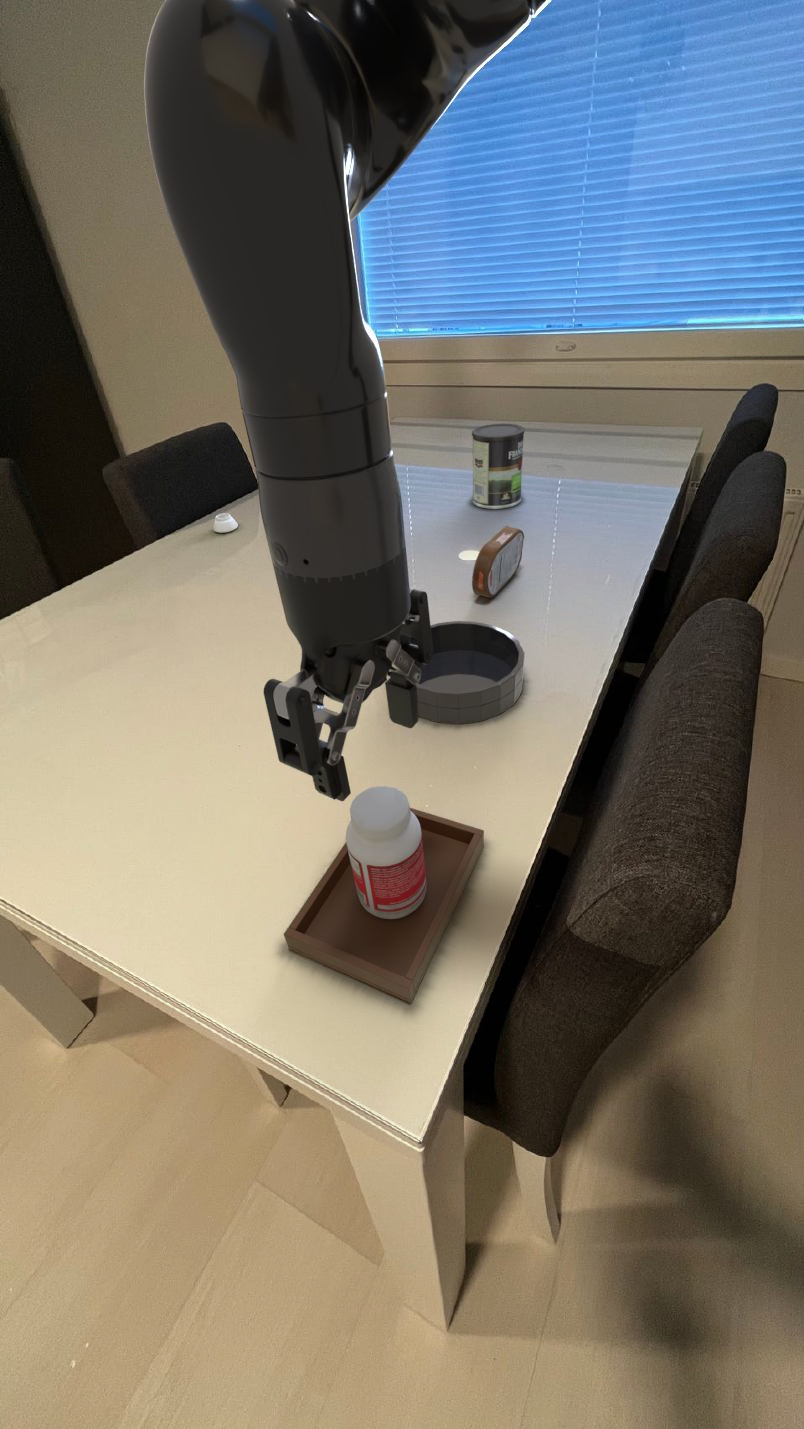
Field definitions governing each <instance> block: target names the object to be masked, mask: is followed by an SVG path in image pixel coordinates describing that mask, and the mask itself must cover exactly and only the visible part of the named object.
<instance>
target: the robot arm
mask: <svg viewBox="0 0 804 1429" xmlns="http://www.w3.org/2000/svg"><path fill="white" fill-rule="evenodd" d="M551 1H552V0H164V1H163V2H162V5H161V6H160V8H159V9H158V12H157V14H156V16H155V19H154V21H153V24H152V27H151V29H150V34H149V37H148V41H147V47H146V53H145V62H144V73H143V74H144V75H143V96H144V110H145V122H146V129H147V130H146V131H147V137H148V143H149V144H148V145H149V149H150V154H151V159H152V164H153V168H154V172H155V175H156V180H157V183H158V187H159V191H160V195H161V198H162V201H163V204H164V208H165V211H166V214H167V216H168V218H169V221H170V224H171V227H172V229H173V232H174V236H175V237H176V240H177V243H178V245H179V248H180V250H181V253H182V255H183V258H184V260H185V263H186V265H187V268H188V270H189V272H190V274H191V278H192V280H193V282H194V284H195V287H196V290H197V292H198V294H199V297H200V299H201V302H202V304H203V306H204V309H205V312H206V313H207V316H208V319H209V321H210V323H211V325H212V328H213V330H214V332H215V334H216V336H217V338H218V341H219V342H220V344H221V346H222V348H223V351H224V353H225V355H226V357H227V359H228V361H229V363H230V366H231V368H232V370H233V374H234V378H235V382H236V388H237V395H238V399H239V404H240V405H239V406H240V409H241V414H242V418H243V422H244V426H245V430H246V431H245V432H246V435H247V439H248V444H249V447H250V452H251V458H252V461H253V465H254V468H255V475H256V481H257V488H258V501H259V507H260V508H259V509H260V510H259V511H260V515H261V516H260V517H261V519H262V520H261V521H262V525H263V528H264V533H265V537H266V541H267V546H268V550H269V553H270V559H271V563H272V568H273V571H274V576H275V580H276V584H277V588H278V592H279V597H280V601H281V605H282V609H283V613H284V617H285V621H286V625H287V626H288V628H289V630H290V631H291V633H292V634H293V636H294V637H295V639H296V640H297V642H298V644H299V645H300V648H301V660H300V665H299V666H300V667H299V671H298V672H297V673H295V674H294V675H293V676H291V677H290V678H288V679H286V681H282V680H280V679H276V678H269V679H268V680H267V681H266V683H265V684H264V687H263V697H264V702H265V706H266V711H267V714H268V718H269V723H270V724H269V725H270V728H271V733H272V736H273V741H274V745H275V751H276V754H277V758H278V761H279V762H280V763H281V764H284V765H285V766H288V767H290V768H292V769H295V770H297V771H299V772H302V773H304V774H306V775H308V776H311V778H312V781H313V782H312V783H313V785H314V789H315V791H316V792H318V793H319V794H321V795H322V796H325V797H328V798H330V799H332V800H334V801H335V800H337V801H340V802H344V801H345V800H346V799H347V798H348V797H349V796H350V795H351V793H352V791H351V786H350V781H349V777H348V772H347V766H346V762H345V757H344V756H343V751H344V746H345V743H346V740H347V735H348V732H349V731H351V730H355V728H356V727H357V724H358V720H359V717H360V712H361V708H362V705H363V703H364V702H365V701H366V700H367V699H368V698H369V697H370V695H371V694H372V692H374V690H376V689H377V688H379V687H381V686H382V685H385V686H384V687H385V693H386V694H385V695H386V701H387V707H388V708H387V709H388V716H389V717H388V718H389V719H390V721H391V722H392V723H394V724H396V725H398V726H402V727H405V728H408V729H413V728H414V727H415V726H416V725H417V724H418V723H419V716H418V699H417V688H416V684H417V683H418V682H419V680H420V678H421V670H420V668H421V666H422V665H423V664H426V665H429V664H430V663H431V661H432V659H433V644H432V635H431V625H432V624H431V616H430V609H429V608H430V607H429V599H428V593H427V591H423V590H421V589H420V590H419V589H416V588H413V587H410V579H409V577H410V576H409V566H408V556H407V543H406V533H405V521H404V509H403V500H402V492H401V488H400V487H401V486H400V482H399V478H398V474H397V470H396V465H395V459H394V452H393V442H392V431H391V421H390V411H389V410H390V409H389V399H388V392H387V390H388V388H387V382H386V372H385V366H384V360H383V356H382V350H381V347H380V344H379V340H378V338H377V334H376V332H375V331H374V329H373V328H372V327H371V326H370V325H369V323H368V322H366V319H365V318H364V313H363V310H362V305H361V298H360V289H359V288H360V287H359V282H358V281H359V280H358V274H357V267H356V259H355V258H356V257H355V252H354V246H353V238H352V230H351V222H352V221H354V220H355V219H356V218H357V217H358V216H359V215H360V214H361V213H362V212H363V211H364V210H365V209H366V207H367V206H368V205H369V204H371V202H372V201H373V200H375V198H376V197H377V196H378V194H379V193H381V191H382V190H383V189H384V188H385V187H386V185H387V184H388V183H389V182H390V181H391V180H392V179H393V177H394V176H395V175H396V173H398V171H399V170H400V169H401V167H402V166H403V165H404V164H405V163H406V161H407V160H408V159H409V158H410V157H411V155H412V154H413V152H414V151H415V150H416V148H417V147H418V146H419V145H420V144H421V142H422V141H423V140H424V139H425V137H426V136H428V133H429V132H430V131H431V130H432V128H433V127H434V126H435V124H436V123H437V122H438V121H439V119H441V117H442V116H443V115H444V113H445V112H446V110H447V109H448V107H449V106H450V105H451V103H452V102H453V101H454V100H455V98H456V97H457V95H458V94H459V93H460V91H461V90H462V89H463V88H464V86H465V85H466V84H467V83H468V82H469V81H470V80H471V79H472V78H473V77H474V75H475V74H476V73H477V72H478V71H479V70H480V69H481V68H483V67H484V65H485V64H486V63H487V62H489V61H490V60H491V59H492V58H493V57H494V56H495V55H496V54H498V53H499V52H500V51H501V50H502V49H503V48H504V47H506V46H507V45H508V44H509V43H510V42H512V41H513V39H514V38H515V37H517V36H518V35H519V34H520V33H521V32H522V31H523V30H524V29H525V28H526V27H527V26H528V25H529V24H530V23H531V19H532V18H536V17H537V15H538V14H539V13H540V12H542V10H543V9H544V8H545V7H546V6H547V5H548V4H549V3H550V2H551ZM410 637H414V638H415V639H416V640H417V643H418V646H417V645H414V644H411V642H410ZM388 677H389V678H388ZM325 697H327V698H329V699H330V700H332V701H335V702H337V703H340V704H342V708H341V711H340V712H337V711H334V710H331V709H329V708H327V707H326V706H325V704H324V700H325ZM324 724H325V725H327V726H328V727H329V733H328V738H327V741H325V740H323V739H320V737H321V734H322V730H323V726H324Z"/></svg>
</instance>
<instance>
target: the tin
mask: <svg viewBox="0 0 804 1429" xmlns="http://www.w3.org/2000/svg"><path fill="white" fill-rule="evenodd" d="M524 540H525V534H524V532H523V530H522V529H520V528H516V527H512V526H509V525H505V526H503V527H502V528H501V529H500V530H499V531H498V532H496V534H494V535H493V536H492V537H491V538H490V539H488V540H487V541H486V542H485V543H484V544H483V545H482V547H481V549H480V550H479V552H478V554H477V556H476V560H475V562H474V564H473V565H474V566H473V571H472V576H471V579H472V580H471V588H472V592H473V593H474V595H476V596H482V597H486V598H493V597H495V596H496V595H497V594H499V592H500V591H501V590H502V589H503V588H504V587H505V586H506V585H507V584H508V583H509V581H510V580H511V579H512V578H513V577H515V575H516V573H517V571H518V569H519V567H520V564H521V562H522V557H523V548H524Z"/></svg>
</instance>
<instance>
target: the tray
mask: <svg viewBox="0 0 804 1429" xmlns="http://www.w3.org/2000/svg"><path fill="white" fill-rule="evenodd" d="M410 811H411V812H413V814H414V815H415V816H416V817H417V819H418V821H419V823H420V827H421V833H422V843H423V852H424V863H425V873H426V885H427V886H426V894H425V897H424V899H423V901H422V903H421V904H420V906H419V907H418V908H417V909H416V910H415V911H413V912H412V913H410V914H409V915H407V916H404V917H401V918H398V919H384V918H380V917H377V916H374V915H373V914H371V913H369V912H368V911H367V910H366V909H365V908H364V907H363V905H362V904H361V902H360V900H359V897H358V893H357V889H356V884H355V879H354V875H353V870H352V866H351V862H350V857H349V853H348V848H347V844H346V842H345V843H343V846H342V847H341V849H340V850H339V852H338V853H337V855H336V856H335V857H334V859H333V861H332V862H331V863H330V865H329V867H328V868H327V869H326V871H325V872H324V873H323V874H322V877H321V878H320V880H319V881H318V883H317V884H316V886H314V888H313V890H312V891H311V892H310V894H309V895H308V898H307V899H306V901H304V903H303V905H302V906H301V907H300V909H299V911H298V912H297V913H296V915H295V917H294V918H293V919H292V921H291V923H290V924H289V925H288V927H287V928H286V930H285V931H284V933H283V936H284V939H285V942H286V945H287V948H288V950H291V951H292V952H295V953H297V954H300V955H302V956H304V957H306V958H308V959H311V960H313V961H316V962H318V963H320V964H322V965H325V966H326V967H329V968H331V969H333V970H335V971H338V972H339V973H342V974H344V975H347V976H348V977H351V978H353V979H356V980H358V981H360V982H363V983H365V984H367V985H369V986H371V987H374V988H376V989H378V990H380V991H383V992H384V993H386V994H389V995H391V996H393V997H396V998H398V999H400V1000H403V1001H405V1002H407V1003H409V1004H412V1002H413V1000H414V998H415V995H416V994H417V991H418V989H419V988H420V987H419V986H420V984H421V982H422V980H423V979H424V976H425V974H426V972H427V969H428V967H429V965H430V963H431V961H432V959H433V957H434V955H435V952H436V950H437V948H438V946H439V943H440V941H441V939H442V938H443V936H444V933H445V930H446V929H447V926H448V924H449V922H450V920H451V919H452V916H453V913H454V911H455V909H456V908H457V905H458V903H459V900H460V899H461V896H462V894H463V892H464V891H465V888H466V885H467V883H468V881H469V879H470V876H471V874H472V873H473V870H474V868H475V866H476V864H477V861H478V859H479V858H480V856H481V853H482V851H483V849H484V846H485V829H481V828H478V827H474V826H471V825H468V824H464V823H461V822H458V821H454V820H451V819H448V818H445V817H442V816H439V815H435V814H432V813H429V812H427V811H423V810H419V809H416V808H413V807H410Z"/></svg>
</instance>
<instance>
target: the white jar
mask: <svg viewBox="0 0 804 1429" xmlns="http://www.w3.org/2000/svg"><path fill="white" fill-rule="evenodd" d="M214 517H215V518H214V522H213V526H212V529H213V531H214V532H216V533H221V534H223V533H230V532H232V531H234V530H236V529H237V528H238V526H239V524H238V522H237V521H236V520H235V519H234V517H232V516H231V514H230V513H229V512H222V513H219V514H216V516H214Z"/></svg>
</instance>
